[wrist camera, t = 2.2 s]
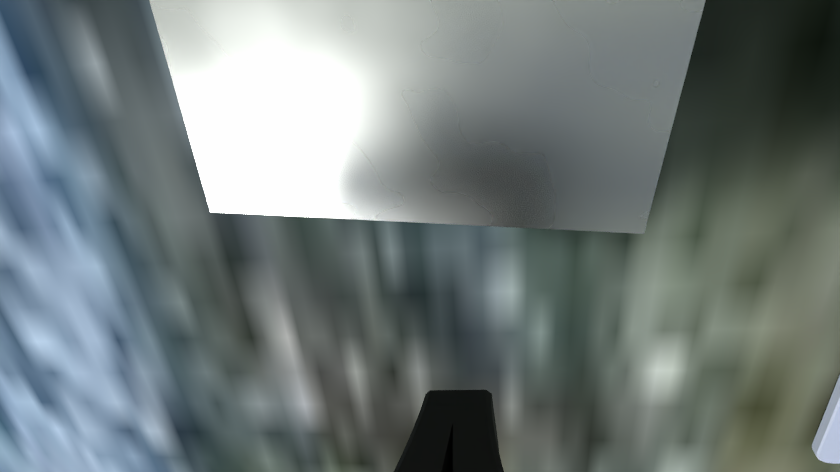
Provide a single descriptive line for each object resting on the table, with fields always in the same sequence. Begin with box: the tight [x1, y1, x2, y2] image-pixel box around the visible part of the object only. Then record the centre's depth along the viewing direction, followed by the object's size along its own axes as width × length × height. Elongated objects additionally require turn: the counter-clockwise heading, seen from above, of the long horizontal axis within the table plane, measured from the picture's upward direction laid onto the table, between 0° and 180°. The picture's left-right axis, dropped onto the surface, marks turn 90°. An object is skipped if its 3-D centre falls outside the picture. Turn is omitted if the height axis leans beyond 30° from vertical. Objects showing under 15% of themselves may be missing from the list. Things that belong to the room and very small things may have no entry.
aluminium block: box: [149, 0, 706, 234], centre depth 10 cm, size 8×6×4 cm
